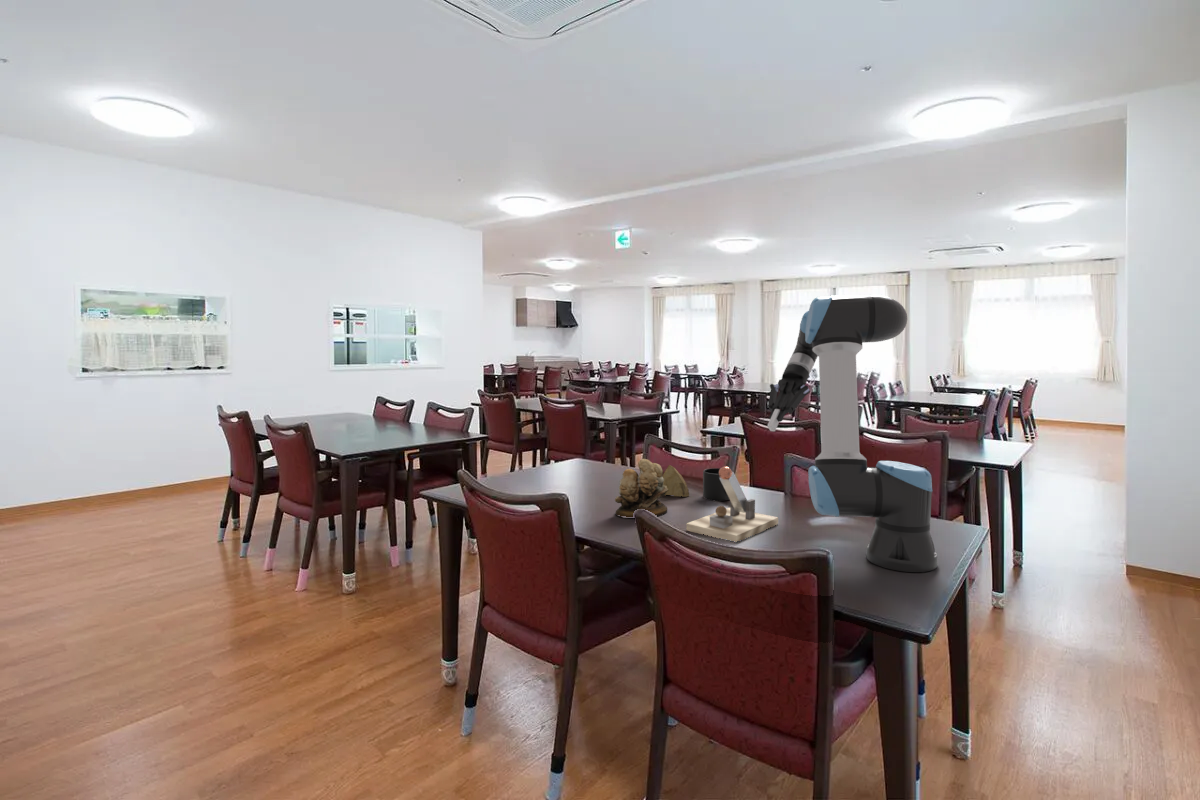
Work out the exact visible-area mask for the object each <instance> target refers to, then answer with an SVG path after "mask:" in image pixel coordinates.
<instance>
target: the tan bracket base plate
mask: <svg viewBox="0 0 1200 800" xmlns="http://www.w3.org/2000/svg"><path fill="white" fill-rule="evenodd" d="M729 502H730V504H729V505H730V507H727V508H726V507H725V506H724V505H718V506H717V507H716V508H715V512H713V513H711V514H709V515H705V516H703V517H700V518H698V519H695V520H692V521H689V522H687V523H686V531H688V532H691V533H695V534H699V535H703V534H704V535H703V536H707V535H708V536H707V537H711V536H712V538H715V537H716V538H715V539H719V538H722V539H727V540H731V541H735V542H737V541H740V540H742V541H744V540H746V539H745V538H747V539H749V538H751V537H753V536H755V534H756V535H758V534H760V533H762V532H764V531H767V530H768V528H769V529H771V528H773V527H776V526H778V525H779V517H777V516H773V515H769V514H763V513H758V512H756V499H752V498H750V499H747V501H746V512H745V513H742V512H737V511H735V509H734V507H733V505H732V503H731V501H730V500H729ZM777 524H778V525H777ZM775 525H776V526H775ZM770 527H771V528H770ZM766 529H767V530H766ZM752 535H753V536H752ZM750 536H751V537H750ZM748 537H749V538H748ZM722 539H721V540H722ZM743 539H744V540H743ZM740 542H741V541H740Z"/></svg>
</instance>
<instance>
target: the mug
mask: <svg viewBox="0 0 1200 800" xmlns="http://www.w3.org/2000/svg"><path fill="white" fill-rule="evenodd" d="M720 468H721V467H719V468H717V467H716V468H715V467H714V468H713V467H712V468H705V469H704V470H703V471H702V473H703V474H702V490H703V491H702V497H703V499H704V500H708V501H713V500H715V501H714V502H723V501H730V499H729V497H728V495H727V493H726V491H725V489H724V487H723V485H722V483H721V481H720V479H719V478H720V476H719V470H720Z"/></svg>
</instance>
